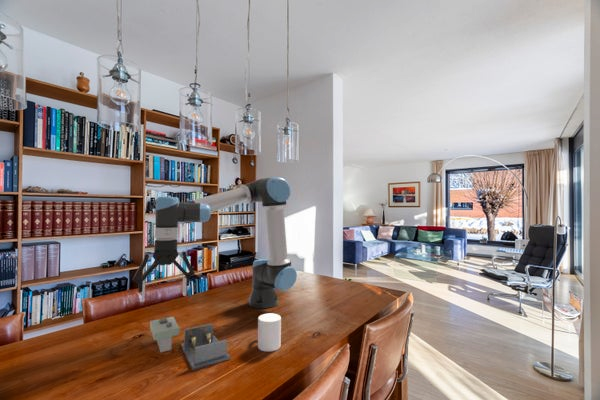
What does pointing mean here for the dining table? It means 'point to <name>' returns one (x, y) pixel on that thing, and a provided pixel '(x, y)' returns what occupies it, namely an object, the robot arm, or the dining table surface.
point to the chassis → (203, 347)
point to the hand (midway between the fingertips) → (164, 297)
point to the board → (164, 328)
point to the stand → (165, 344)
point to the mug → (269, 332)
